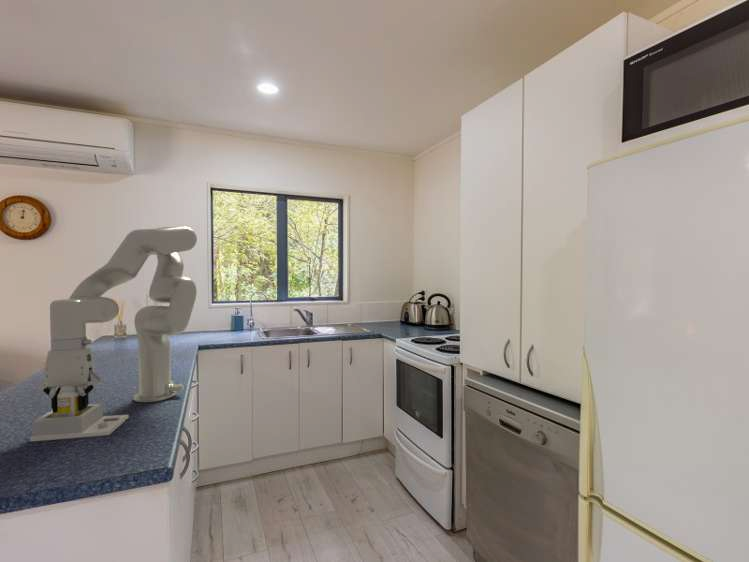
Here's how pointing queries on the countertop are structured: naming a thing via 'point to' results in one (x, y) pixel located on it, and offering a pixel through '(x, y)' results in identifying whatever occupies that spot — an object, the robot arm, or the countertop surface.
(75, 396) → the supplement bottle
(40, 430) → the white holder tray
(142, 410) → the countertop surface
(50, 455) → the countertop surface
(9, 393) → the countertop surface
